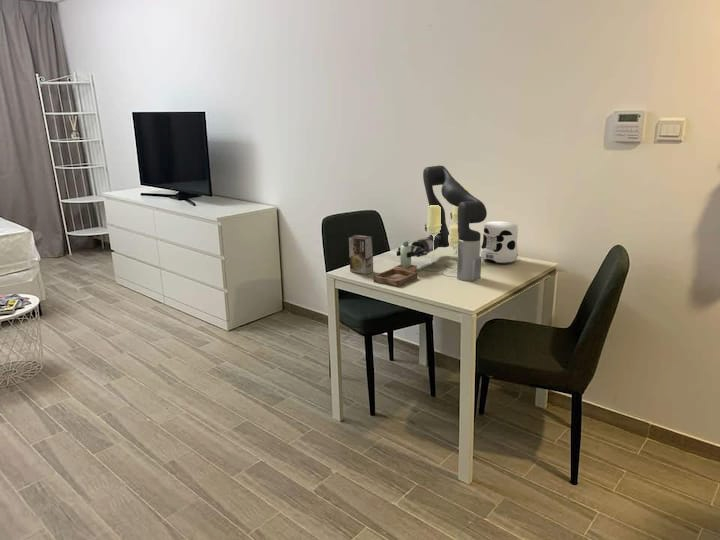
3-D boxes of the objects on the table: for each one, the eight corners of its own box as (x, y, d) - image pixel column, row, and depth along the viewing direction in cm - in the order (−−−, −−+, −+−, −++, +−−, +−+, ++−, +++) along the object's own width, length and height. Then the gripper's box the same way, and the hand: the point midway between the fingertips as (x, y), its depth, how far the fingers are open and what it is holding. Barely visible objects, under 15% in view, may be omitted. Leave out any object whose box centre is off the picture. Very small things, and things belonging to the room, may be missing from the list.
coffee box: (373, 271, 246) (373, 236, 241) (365, 274, 241) (365, 239, 236) (357, 268, 251) (356, 234, 246) (349, 271, 246) (348, 237, 241)
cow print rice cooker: (514, 257, 265) (516, 220, 260) (520, 266, 248) (523, 228, 243) (478, 256, 267) (480, 220, 262) (482, 266, 250) (484, 228, 245)
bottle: (413, 269, 245) (413, 241, 242) (407, 271, 242) (407, 243, 238) (404, 267, 248) (404, 239, 245) (398, 269, 245) (398, 241, 241)
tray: (417, 278, 234) (417, 272, 234) (398, 286, 223) (398, 281, 223) (393, 273, 242) (393, 268, 241) (373, 281, 231) (373, 276, 230)
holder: (416, 270, 246) (416, 265, 245) (408, 274, 240) (408, 269, 240) (403, 267, 250) (403, 263, 250) (394, 271, 245) (394, 266, 244)
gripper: (409, 237, 257) (389, 244, 244) (436, 241, 248) (416, 248, 236) (409, 252, 259) (389, 260, 246) (435, 256, 251) (416, 265, 238)
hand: (402, 254), depth 241 cm, fingers closed on bottle, 4 cm apart
